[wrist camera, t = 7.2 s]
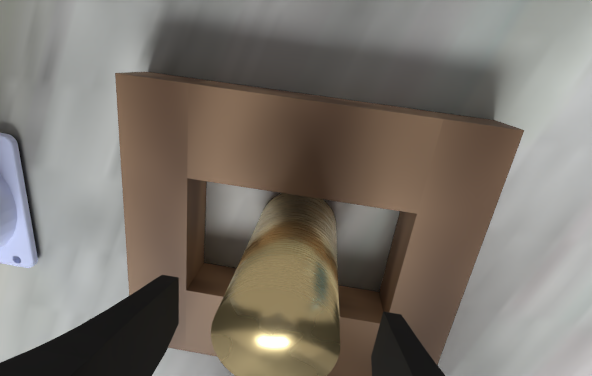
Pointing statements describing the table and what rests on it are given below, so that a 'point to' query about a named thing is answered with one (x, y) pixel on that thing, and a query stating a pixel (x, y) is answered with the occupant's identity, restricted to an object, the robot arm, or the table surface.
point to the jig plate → (308, 193)
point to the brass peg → (283, 295)
